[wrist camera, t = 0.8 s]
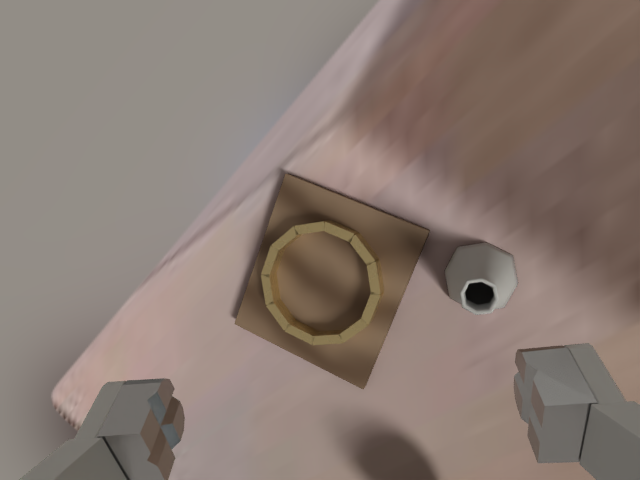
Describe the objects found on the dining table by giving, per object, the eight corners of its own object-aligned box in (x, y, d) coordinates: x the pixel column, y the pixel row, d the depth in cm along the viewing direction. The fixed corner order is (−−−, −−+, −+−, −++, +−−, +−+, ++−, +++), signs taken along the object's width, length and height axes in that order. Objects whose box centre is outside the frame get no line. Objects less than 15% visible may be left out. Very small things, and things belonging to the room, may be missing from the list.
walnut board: (289, 173, 56) (285, 173, 55) (430, 230, 52) (428, 231, 51) (239, 321, 60) (234, 323, 59) (365, 385, 56) (363, 389, 55)
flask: (439, 304, 52) (429, 329, 43) (449, 236, 51) (441, 247, 42) (511, 317, 50) (517, 347, 41) (524, 247, 49) (532, 261, 40)
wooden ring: (291, 204, 55) (284, 204, 54) (401, 249, 52) (397, 252, 50) (255, 308, 58) (247, 312, 56) (356, 359, 55) (352, 365, 53)
